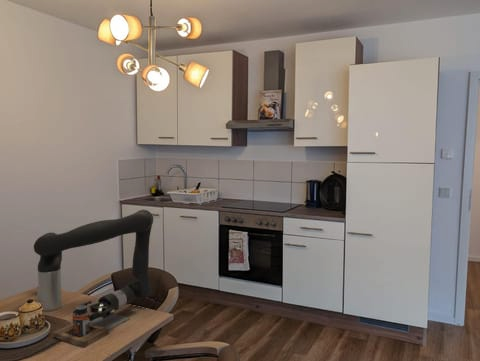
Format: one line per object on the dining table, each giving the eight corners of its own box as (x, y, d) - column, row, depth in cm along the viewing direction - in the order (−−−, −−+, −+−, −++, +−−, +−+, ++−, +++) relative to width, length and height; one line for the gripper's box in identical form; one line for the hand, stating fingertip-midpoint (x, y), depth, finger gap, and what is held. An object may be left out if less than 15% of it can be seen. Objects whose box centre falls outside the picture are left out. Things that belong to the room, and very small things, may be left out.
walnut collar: (53, 337, 152) (53, 332, 152) (79, 325, 163) (79, 320, 163) (84, 347, 145) (83, 342, 145) (108, 333, 155) (108, 328, 155)
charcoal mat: (86, 324, 164) (86, 323, 164) (108, 313, 174) (108, 312, 174) (108, 330, 158) (108, 329, 158) (130, 319, 169) (130, 318, 169)
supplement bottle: (69, 337, 152) (68, 308, 151) (81, 331, 158) (80, 303, 157) (81, 340, 150) (81, 311, 149) (93, 333, 155) (92, 305, 154)
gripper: (100, 290, 171) (68, 303, 156) (125, 296, 164) (95, 310, 150) (100, 307, 171) (68, 322, 157) (126, 313, 165) (95, 329, 150)
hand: (81, 316), depth 153 cm, fingers open, 8 cm apart
